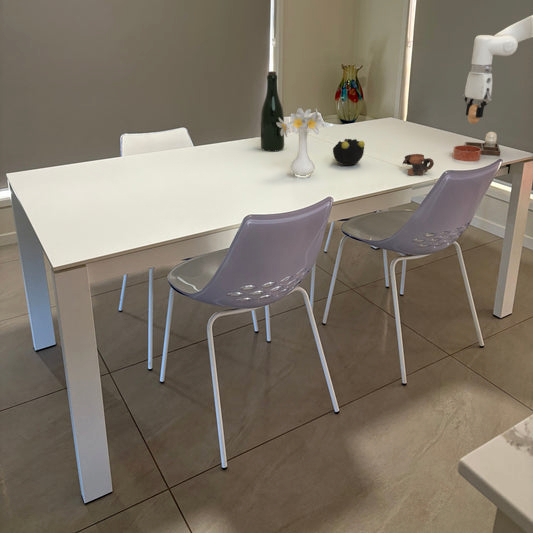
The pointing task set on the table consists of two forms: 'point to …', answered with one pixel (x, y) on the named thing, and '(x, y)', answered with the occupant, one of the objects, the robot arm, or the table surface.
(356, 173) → the table surface
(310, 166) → the flower vase
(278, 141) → the wine bottle
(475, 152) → the bowl
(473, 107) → the egg
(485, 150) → the egg holder
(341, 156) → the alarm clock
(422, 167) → the pottery mug
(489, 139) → the egg
